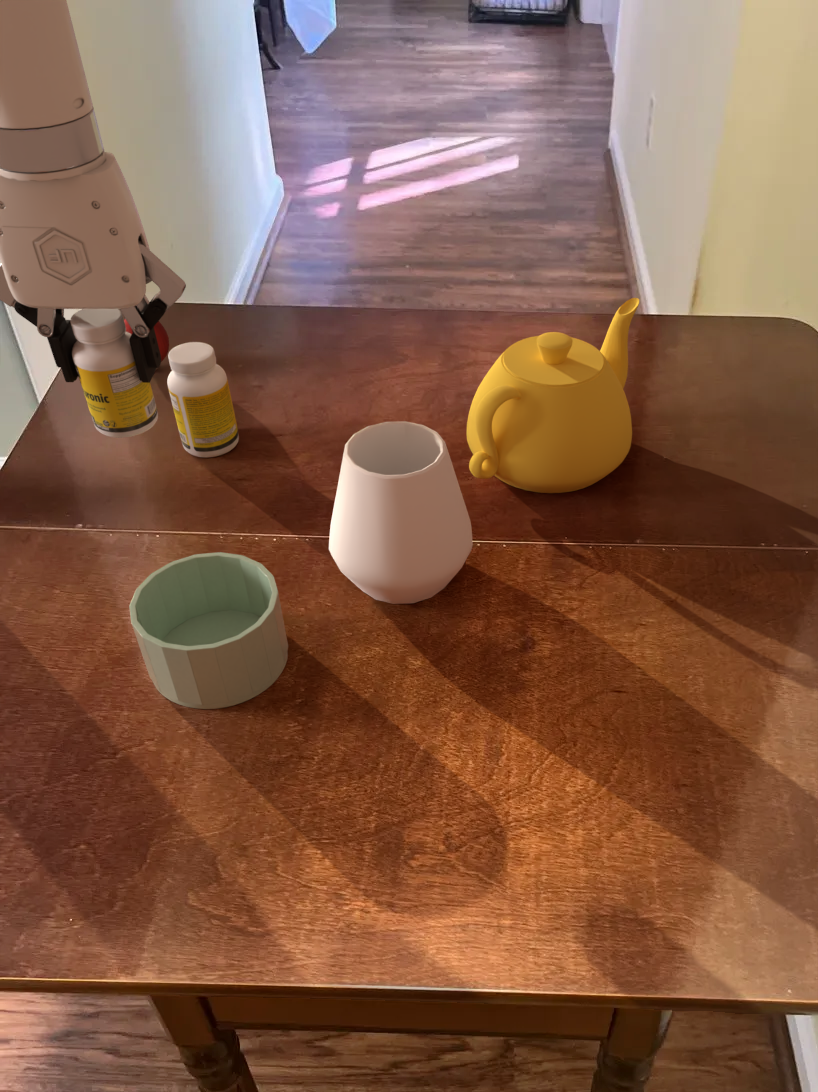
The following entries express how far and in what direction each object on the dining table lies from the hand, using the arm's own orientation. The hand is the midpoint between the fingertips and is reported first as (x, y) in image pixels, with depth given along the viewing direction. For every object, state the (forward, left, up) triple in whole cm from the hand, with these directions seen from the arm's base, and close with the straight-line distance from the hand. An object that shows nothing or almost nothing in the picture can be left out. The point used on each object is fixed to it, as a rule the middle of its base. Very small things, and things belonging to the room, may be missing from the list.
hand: (112, 372), depth 81 cm
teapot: (+38, +19, -20) cm, 47 cm away
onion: (-11, +35, -20) cm, 42 cm away
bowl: (+8, -14, -20) cm, 25 cm away
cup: (+23, -2, -20) cm, 31 cm away
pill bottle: (0, +19, -20) cm, 28 cm away
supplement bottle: (0, 0, -5) cm, 5 cm away
